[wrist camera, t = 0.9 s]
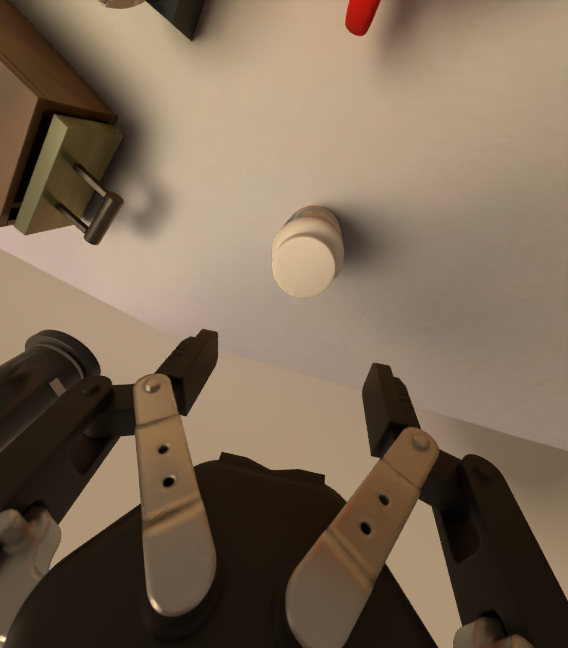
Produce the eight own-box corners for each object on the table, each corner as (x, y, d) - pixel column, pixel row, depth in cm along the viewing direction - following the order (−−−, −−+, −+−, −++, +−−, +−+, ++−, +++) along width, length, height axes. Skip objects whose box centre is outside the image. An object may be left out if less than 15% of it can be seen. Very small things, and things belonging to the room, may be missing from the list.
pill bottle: (299, 270, 30) (284, 317, 21) (276, 220, 28) (246, 248, 19) (349, 249, 28) (358, 291, 19) (329, 193, 26) (326, 208, 16)
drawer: (162, 176, 27) (119, 178, 21) (111, 253, 32) (68, 270, 27) (-27, -22, 21) (-147, -85, 16) (-48, 113, 27) (-142, 99, 22)
